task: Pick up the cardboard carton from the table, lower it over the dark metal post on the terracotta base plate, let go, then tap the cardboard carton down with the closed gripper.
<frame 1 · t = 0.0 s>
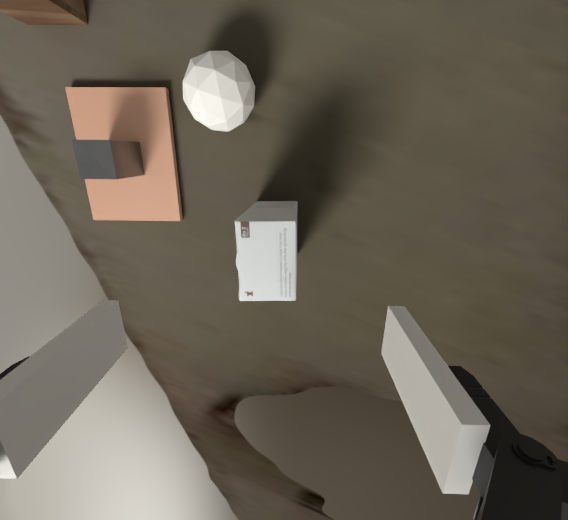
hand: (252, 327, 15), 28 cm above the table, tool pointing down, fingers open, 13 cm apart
skincare box: (276, 227, 42), on the table
post: (112, 159, 35), on the base plate, point 4 cm above the table
base plate: (130, 158, 39), on the table
ball: (226, 98, 37), on the table
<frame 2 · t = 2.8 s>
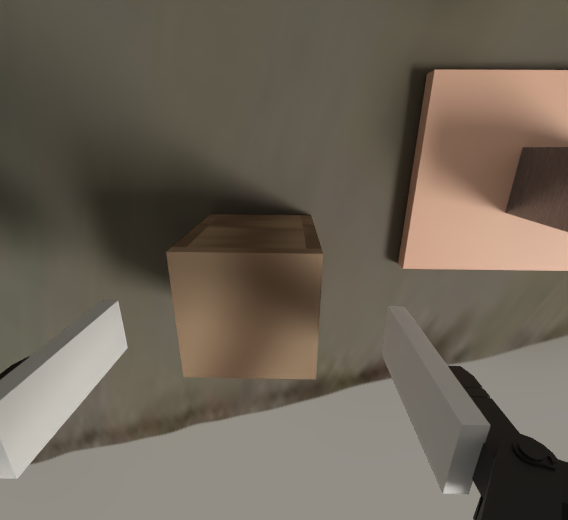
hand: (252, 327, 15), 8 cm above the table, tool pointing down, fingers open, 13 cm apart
base plate: (533, 179, 20), on the table
cardboard carton: (261, 261, 22), on the table
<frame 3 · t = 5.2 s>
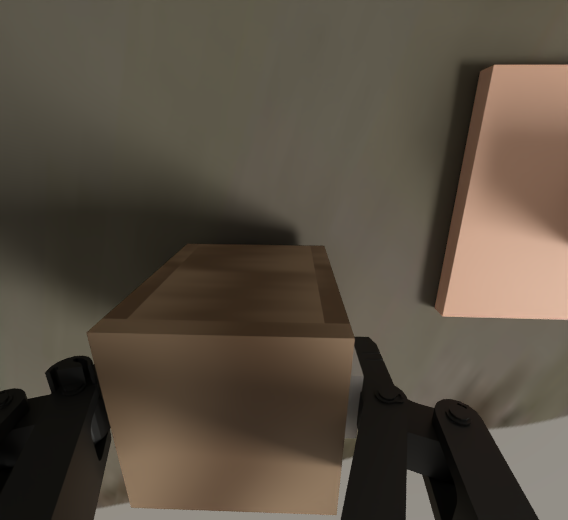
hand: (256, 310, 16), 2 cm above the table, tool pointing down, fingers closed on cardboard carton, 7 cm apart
cardboard carton: (257, 305, 16), point 1 cm above the table, touching gripper
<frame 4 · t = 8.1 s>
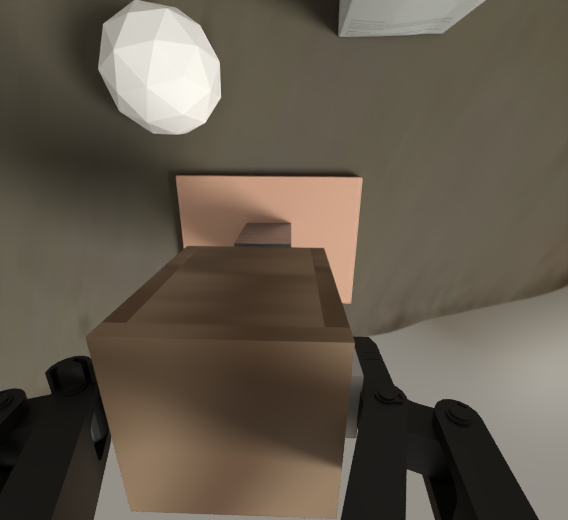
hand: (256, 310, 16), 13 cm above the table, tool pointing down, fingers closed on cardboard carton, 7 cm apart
post: (266, 255, 25), on the base plate, point 4 cm above the table
base plate: (270, 241, 29), on the table
ball: (183, 86, 24), on the table
cardboard carton: (256, 307, 16), point 13 cm above the table, touching gripper
when the fingers open (4 cm above the table, at t = 11.0 s): cardboard carton drops 2 cm, resting on base plate.
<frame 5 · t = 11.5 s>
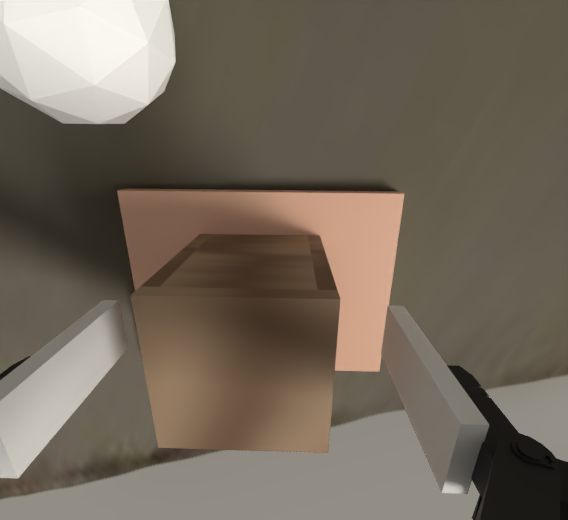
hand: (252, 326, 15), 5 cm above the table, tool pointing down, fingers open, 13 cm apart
base plate: (262, 283, 20), on the table
ball: (124, 50, 16), on the table
cardboard carton: (260, 289, 19), point 1 cm above the table, touching base plate
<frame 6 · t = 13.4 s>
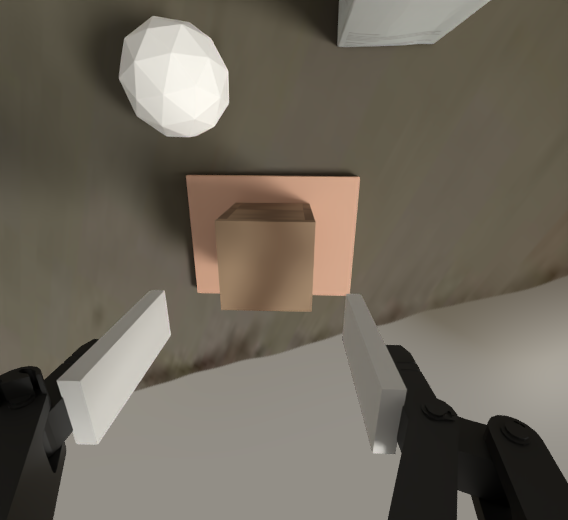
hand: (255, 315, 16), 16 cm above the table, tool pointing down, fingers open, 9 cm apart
skincare box: (384, 8, 24), on the table
base plate: (273, 236, 30), on the table
ball: (193, 92, 26), on the table
cardboard carton: (272, 238, 29), point 1 cm above the table, touching base plate
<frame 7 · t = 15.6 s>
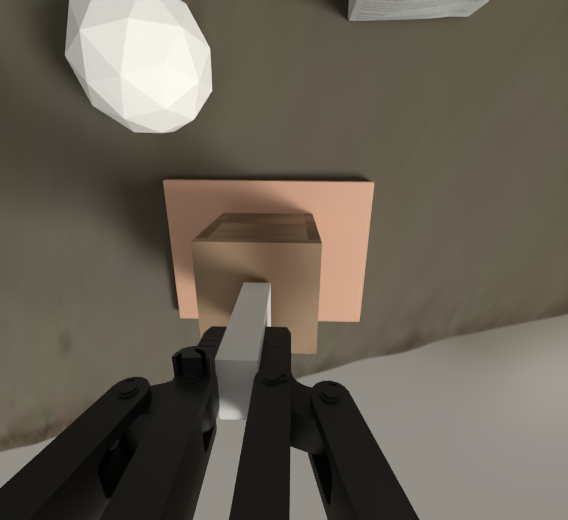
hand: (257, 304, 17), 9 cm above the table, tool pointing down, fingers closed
base plate: (269, 252, 26), on the table
ball: (170, 78, 22), on the table
cardboard carton: (268, 255, 25), point 1 cm above the table, touching base plate, gripper
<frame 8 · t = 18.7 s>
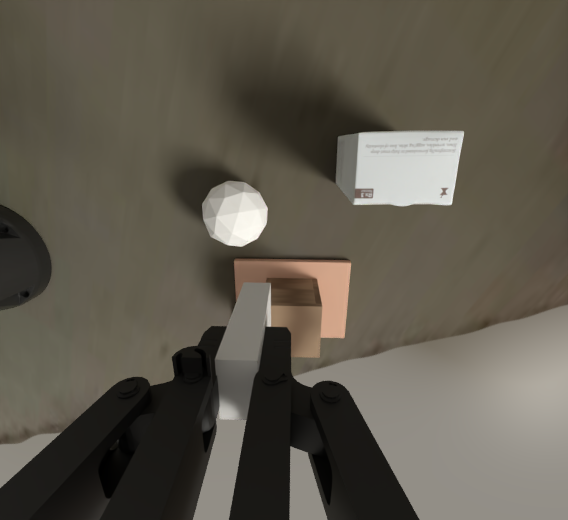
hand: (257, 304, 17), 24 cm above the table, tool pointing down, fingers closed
skincare box: (365, 162, 37), on the table
base plate: (291, 297, 44), on the table
ball: (240, 208, 40), on the table
cardboard carton: (291, 300, 43), point 1 cm above the table, touching base plate
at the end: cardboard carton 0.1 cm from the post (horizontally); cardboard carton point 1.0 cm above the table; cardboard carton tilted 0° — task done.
